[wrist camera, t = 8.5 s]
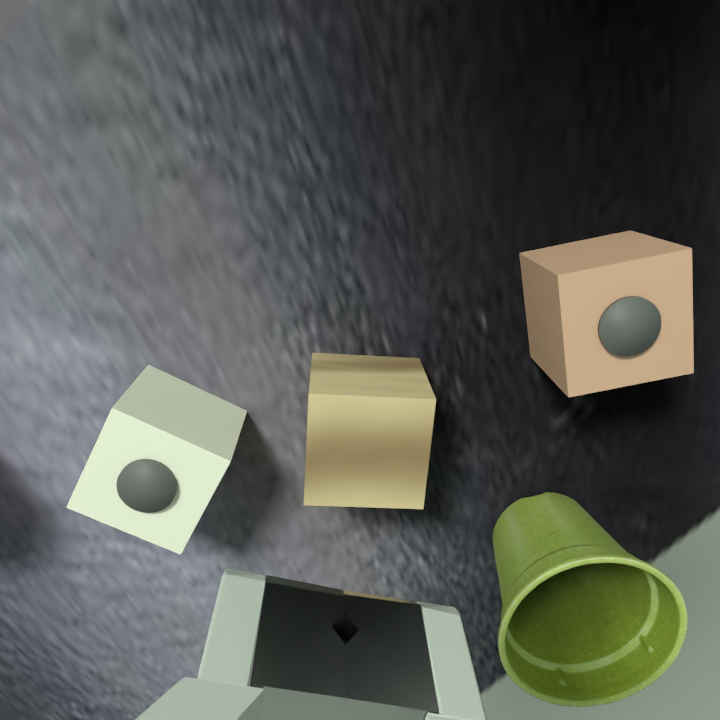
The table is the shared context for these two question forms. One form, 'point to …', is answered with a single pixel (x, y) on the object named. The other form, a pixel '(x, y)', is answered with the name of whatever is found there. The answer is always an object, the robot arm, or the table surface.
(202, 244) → the table surface
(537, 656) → the plant pot
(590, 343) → the dot block tan
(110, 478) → the dot block cream
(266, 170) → the table surface
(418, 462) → the oak block
